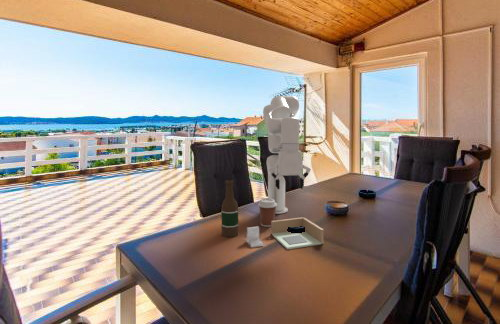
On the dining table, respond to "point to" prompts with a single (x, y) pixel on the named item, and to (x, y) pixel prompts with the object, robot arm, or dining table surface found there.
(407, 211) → the dining table surface
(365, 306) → the dining table surface
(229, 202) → the beer bottle
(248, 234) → the bracket
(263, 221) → the coffee cup
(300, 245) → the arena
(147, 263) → the dining table surface
